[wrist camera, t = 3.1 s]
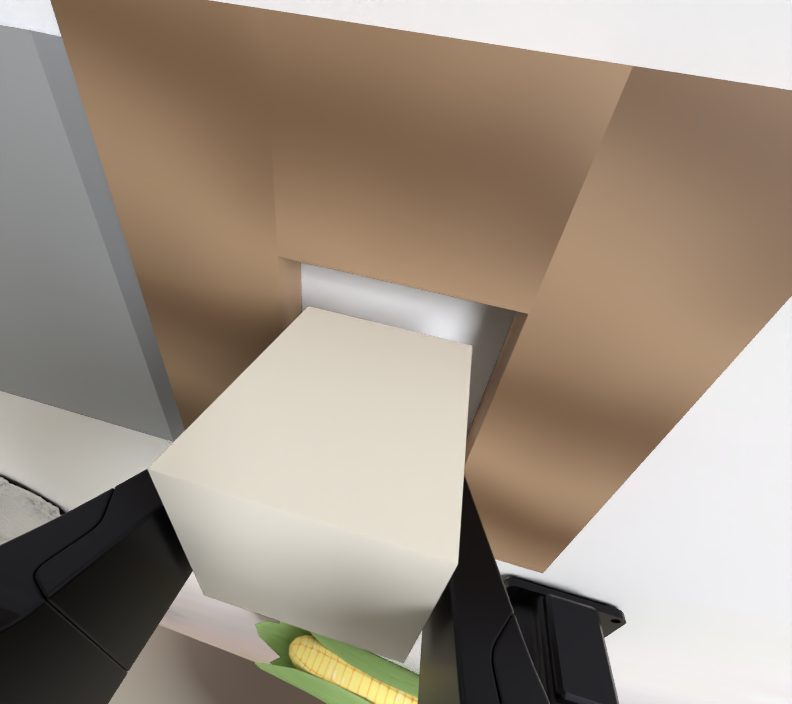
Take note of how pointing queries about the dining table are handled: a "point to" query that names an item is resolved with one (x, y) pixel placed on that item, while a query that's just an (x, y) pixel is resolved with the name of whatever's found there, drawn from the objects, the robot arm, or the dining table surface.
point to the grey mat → (68, 256)
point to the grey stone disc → (22, 511)
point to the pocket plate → (447, 220)
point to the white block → (329, 481)
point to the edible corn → (335, 668)
